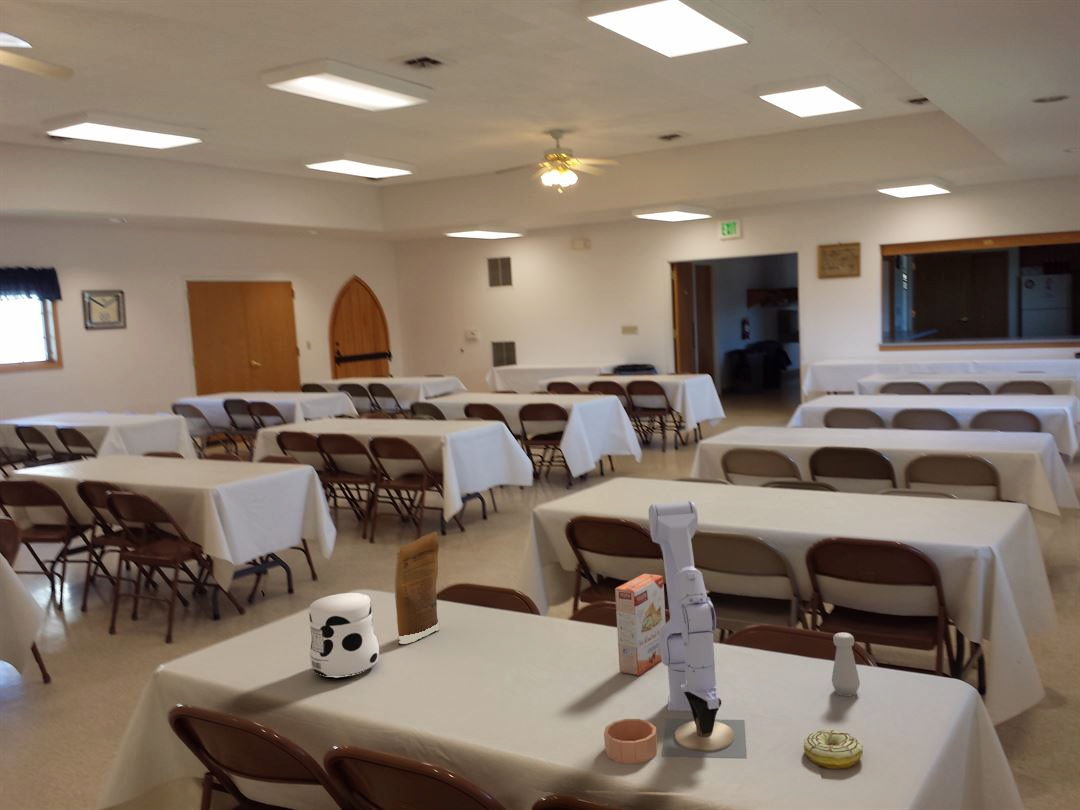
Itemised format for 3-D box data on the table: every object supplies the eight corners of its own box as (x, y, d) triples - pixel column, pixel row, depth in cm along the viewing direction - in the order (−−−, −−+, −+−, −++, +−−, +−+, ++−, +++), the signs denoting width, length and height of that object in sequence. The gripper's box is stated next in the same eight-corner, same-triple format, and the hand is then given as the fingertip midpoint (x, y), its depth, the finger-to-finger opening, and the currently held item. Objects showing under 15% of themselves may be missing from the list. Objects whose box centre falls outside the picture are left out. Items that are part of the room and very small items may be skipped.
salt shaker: (838, 684, 201) (835, 627, 199) (864, 689, 197) (861, 632, 196) (828, 694, 196) (825, 636, 195) (854, 699, 192) (851, 640, 191)
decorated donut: (864, 747, 172) (863, 728, 172) (862, 775, 163) (861, 755, 162) (807, 741, 176) (806, 723, 176) (802, 768, 166) (801, 748, 166)
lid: (733, 724, 185) (732, 706, 184) (735, 752, 173) (733, 733, 173) (676, 723, 187) (675, 706, 186) (674, 750, 175) (672, 732, 175)
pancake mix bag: (453, 626, 258) (445, 531, 255) (407, 649, 243) (397, 548, 240) (436, 623, 262) (427, 529, 259) (389, 645, 247) (379, 545, 244)
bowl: (658, 740, 181) (657, 719, 180) (655, 765, 171) (654, 743, 171) (609, 739, 183) (607, 718, 182) (603, 764, 173) (601, 742, 173)
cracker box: (640, 677, 213) (634, 591, 211) (618, 672, 216) (612, 588, 214) (669, 657, 224) (664, 574, 222) (648, 652, 227) (643, 572, 225)
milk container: (388, 656, 239) (382, 590, 237) (369, 682, 222) (362, 611, 220) (325, 658, 241) (318, 593, 239) (301, 685, 224) (294, 614, 222)
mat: (744, 721, 186) (744, 719, 186) (746, 760, 171) (746, 758, 171) (666, 720, 189) (666, 718, 189) (661, 758, 174) (661, 756, 174)
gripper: (669, 652, 185) (673, 716, 186) (692, 679, 171) (696, 748, 172) (702, 648, 186) (706, 711, 187) (727, 674, 172) (731, 742, 173)
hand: (703, 728), depth 180 cm, fingers closed on lid, 3 cm apart
